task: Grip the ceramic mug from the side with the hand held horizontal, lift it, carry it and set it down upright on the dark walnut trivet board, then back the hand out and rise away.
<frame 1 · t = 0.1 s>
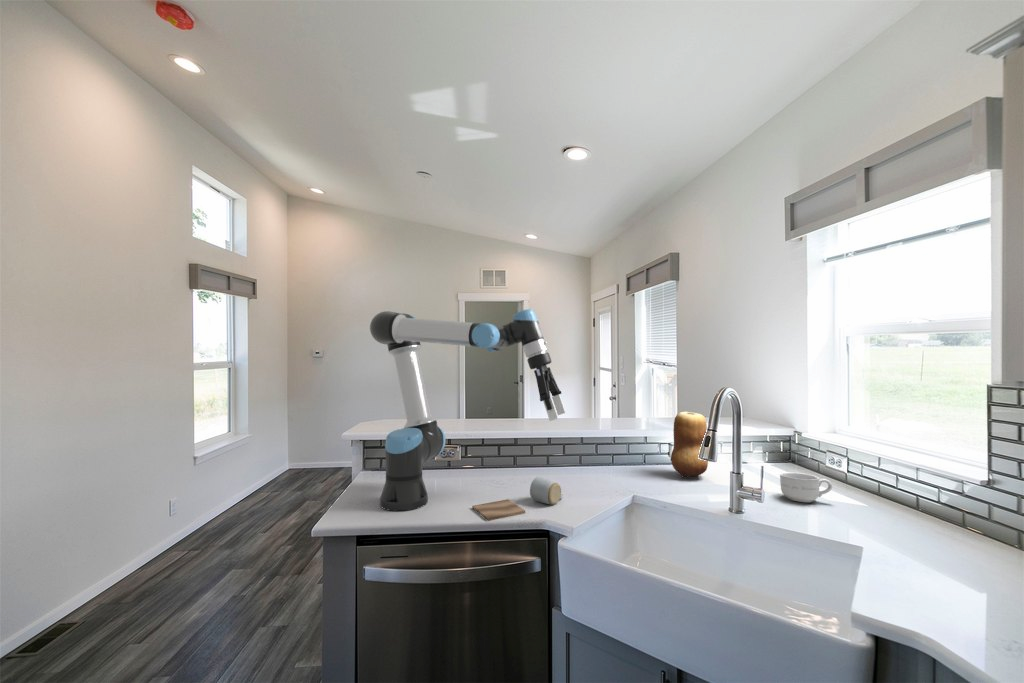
hand: (558, 416, 140), 28 cm above the worktop, tool tilted 20°, fingers open, 13 cm apart
walnut trivet: (498, 510, 133), on the worktop
teacup: (805, 501, 139), on the worktop
ceramic mug: (548, 502, 141), on the worktop
butternut squash: (689, 477, 167), on the worktop
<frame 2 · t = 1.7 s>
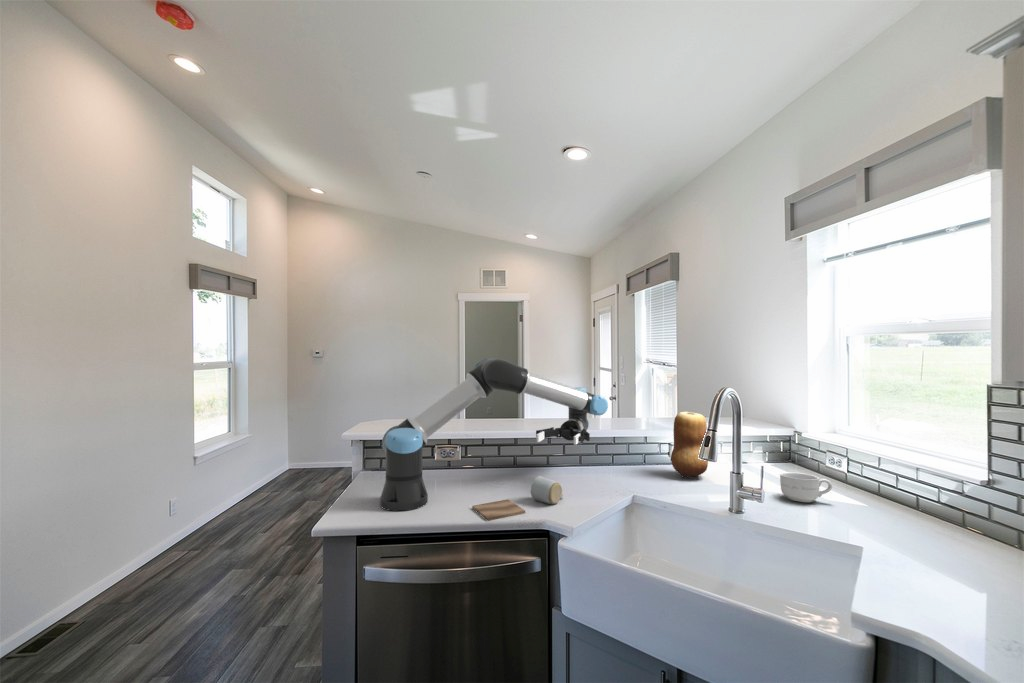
hand: (555, 439, 150), 18 cm above the worktop, tool horizontal, fingers open, 13 cm apart
nothing on the worktop moved.
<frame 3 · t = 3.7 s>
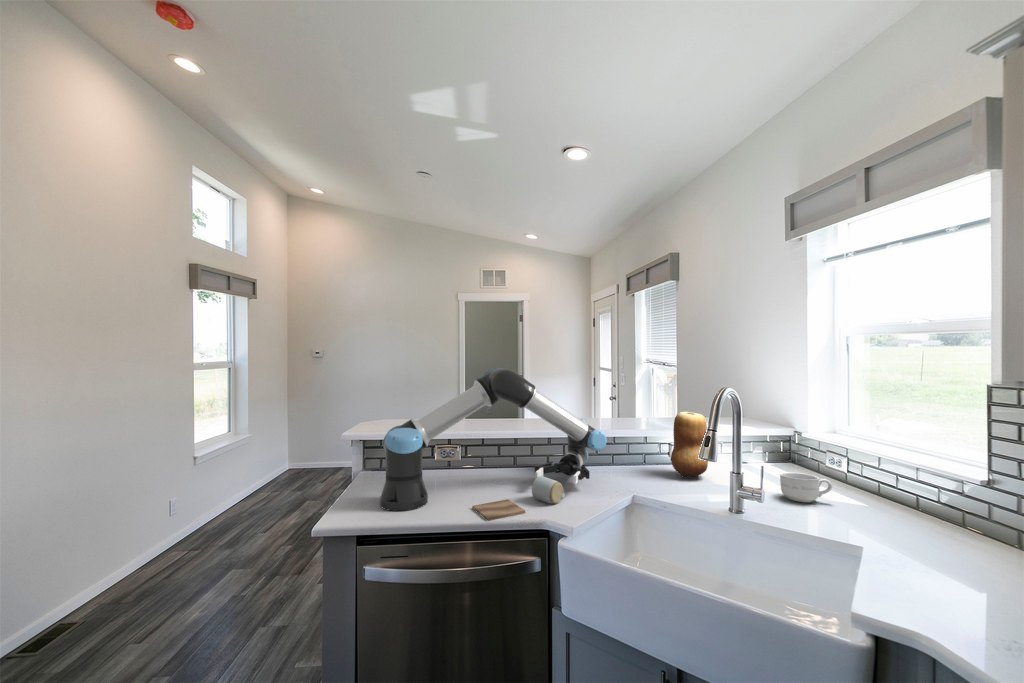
hand: (555, 478, 147), 6 cm above the worktop, tool horizontal, fingers open, 13 cm apart
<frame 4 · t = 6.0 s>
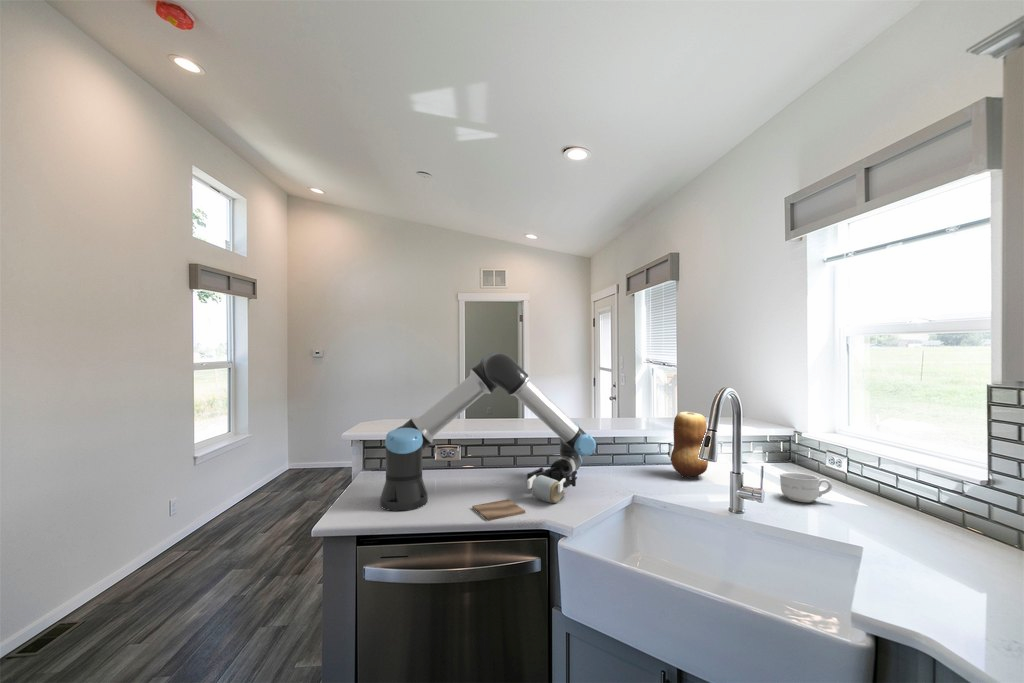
hand: (543, 486, 137), 6 cm above the worktop, tool horizontal, fingers closed on ceramic mug, 9 cm apart
ceramic mug: (550, 500, 142), on the worktop, touching gripper
everything else where it was.
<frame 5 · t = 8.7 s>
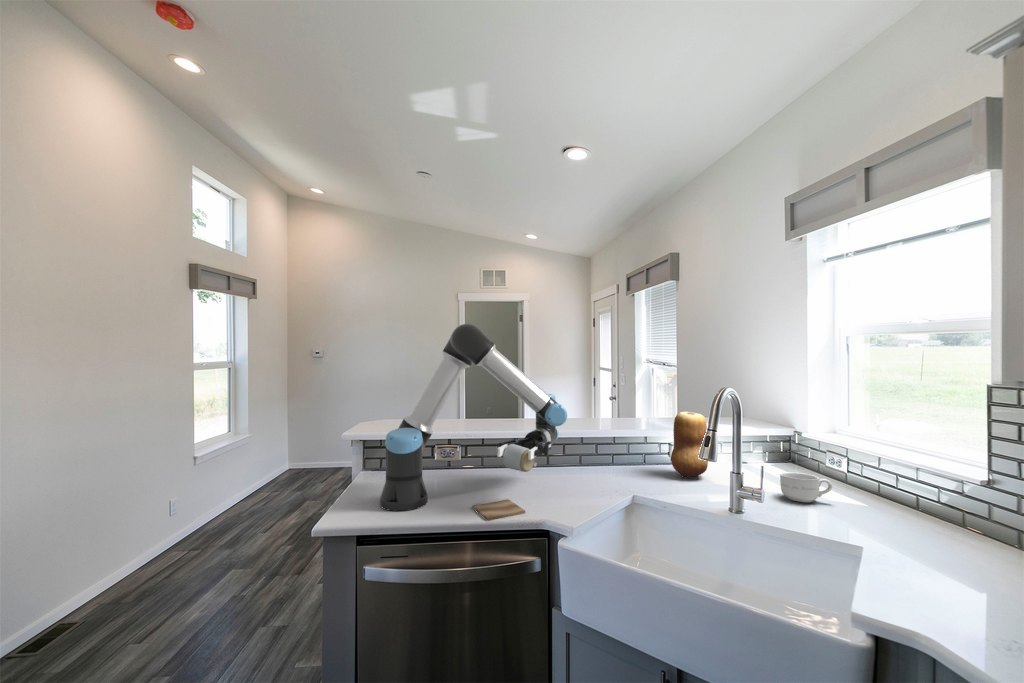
hand: (513, 453, 132), 18 cm above the worktop, tool horizontal, fingers closed on ceramic mug, 9 cm apart
ceramic mug: (521, 469, 137), point 11 cm above the worktop, touching gripper
everything else where it was.
when the fingers open (8 cm above the worktop, at t = 11.5 s): ceramic mug drops 1 cm, resting on walnut trivet.
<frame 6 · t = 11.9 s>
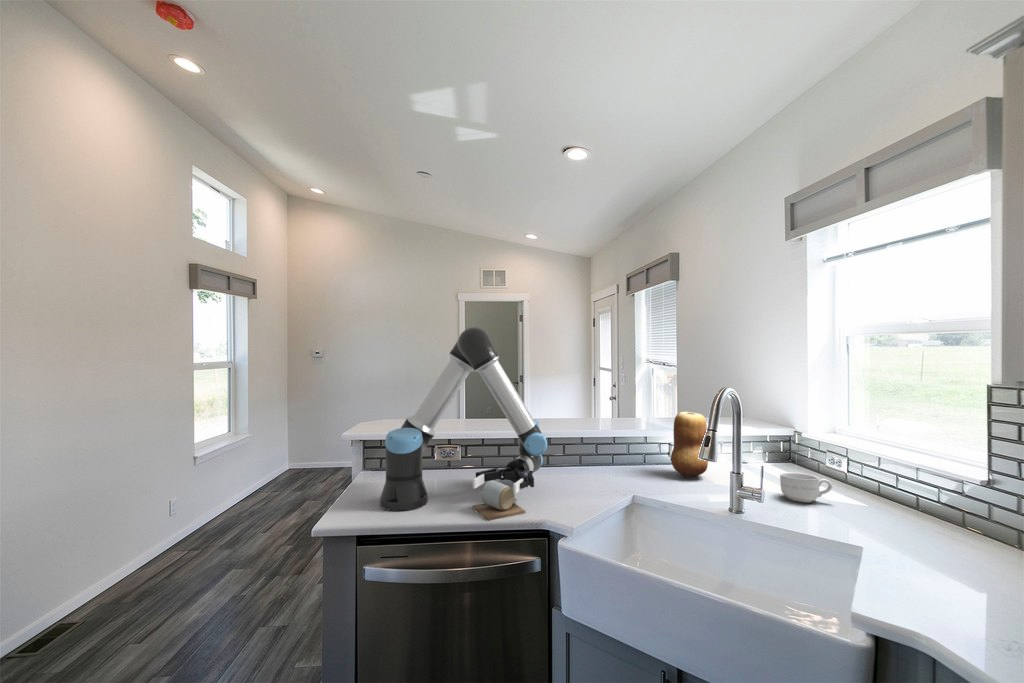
hand: (493, 486, 130), 8 cm above the worktop, tool horizontal, fingers open, 13 cm apart
ceramic mug: (501, 507, 134), point 1 cm above the worktop, touching walnut trivet
everything else where it was.
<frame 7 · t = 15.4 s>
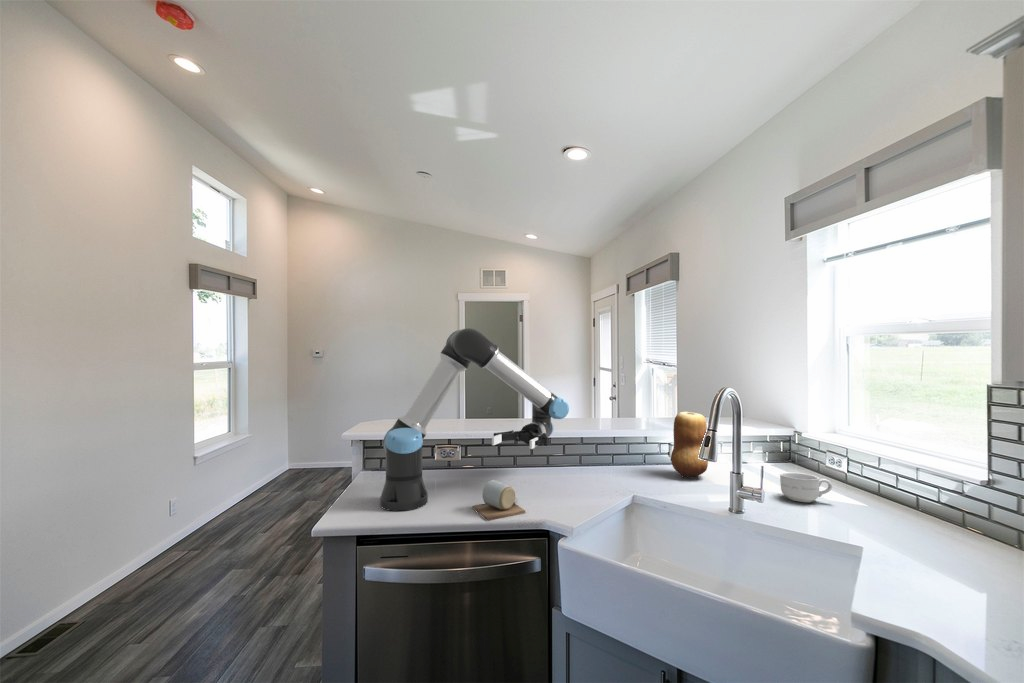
hand: (511, 443, 142), 19 cm above the worktop, tool horizontal, fingers open, 13 cm apart
nothing on the worktop moved.
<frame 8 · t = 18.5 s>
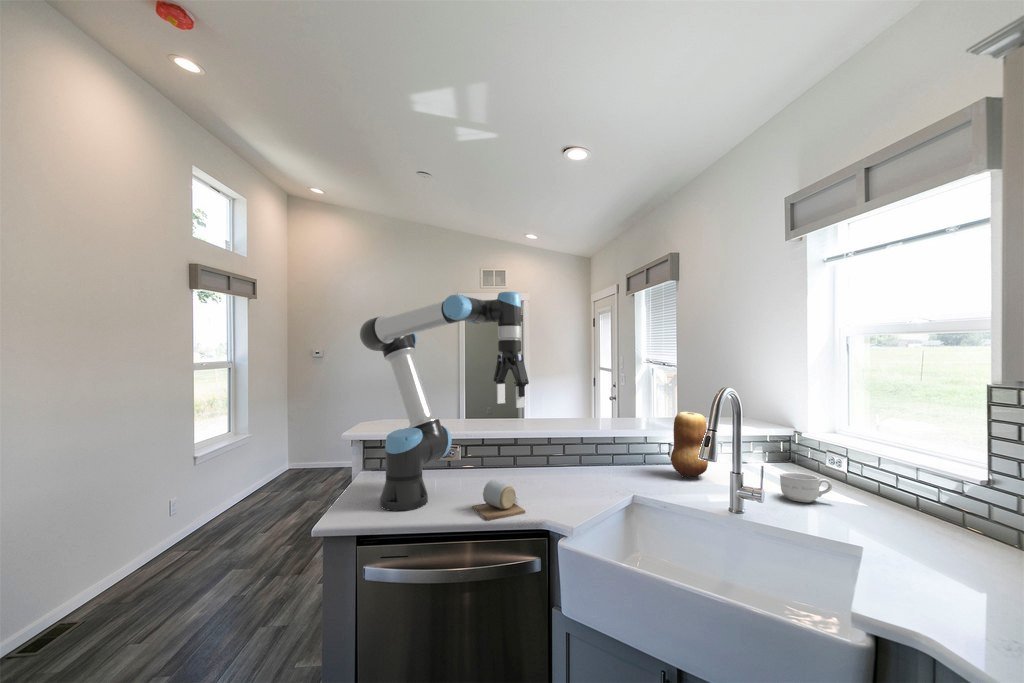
hand: (510, 405, 139), 32 cm above the worktop, tool pointing down, fingers open, 13 cm apart
nothing on the worktop moved.
at the end: ceramic mug inside the target area on the walnut trivet (2.4 cm from its centre), point 0.6 cm above the walnut trivet's base; ceramic mug tilted 1°; the gripper is holding nothing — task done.
